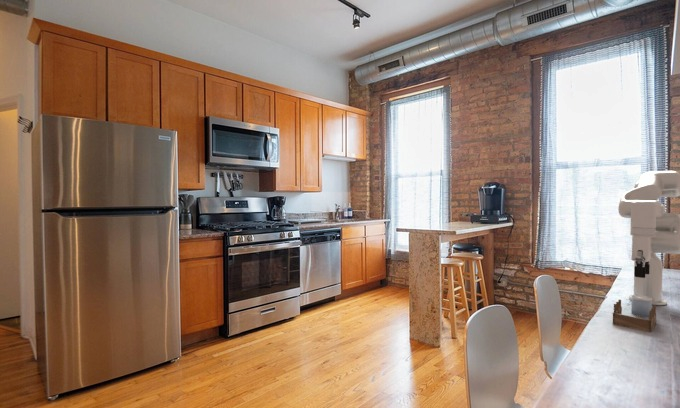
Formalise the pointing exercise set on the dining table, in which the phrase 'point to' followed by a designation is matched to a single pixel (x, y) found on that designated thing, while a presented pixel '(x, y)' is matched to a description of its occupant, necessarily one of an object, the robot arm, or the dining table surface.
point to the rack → (634, 319)
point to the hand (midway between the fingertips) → (641, 275)
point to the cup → (641, 305)
